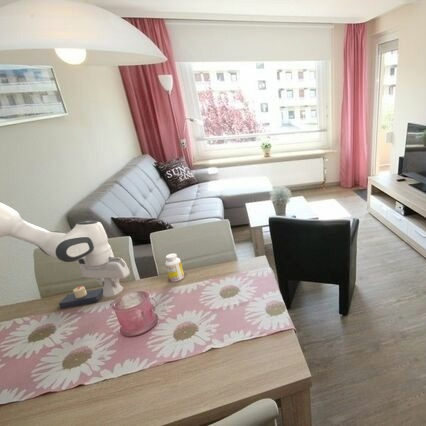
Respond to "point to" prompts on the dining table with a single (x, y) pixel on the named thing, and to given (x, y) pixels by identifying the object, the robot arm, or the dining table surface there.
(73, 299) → the control panel
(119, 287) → the flask
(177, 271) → the supplement bottle
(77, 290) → the small cream cake
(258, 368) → the dining table surface
